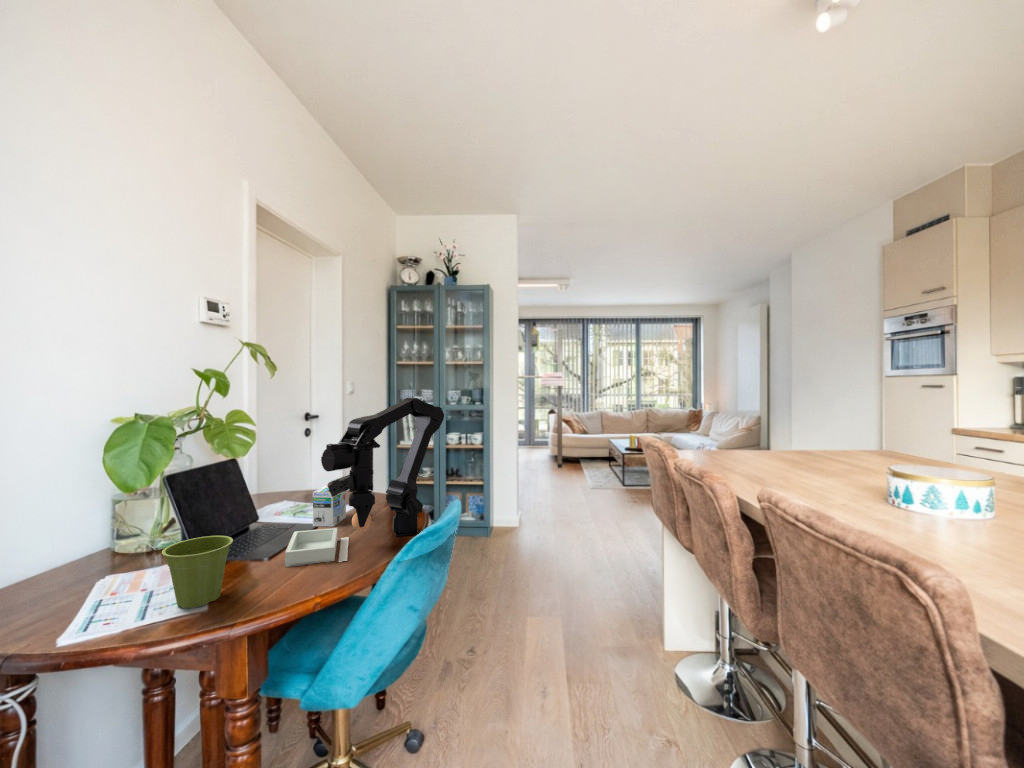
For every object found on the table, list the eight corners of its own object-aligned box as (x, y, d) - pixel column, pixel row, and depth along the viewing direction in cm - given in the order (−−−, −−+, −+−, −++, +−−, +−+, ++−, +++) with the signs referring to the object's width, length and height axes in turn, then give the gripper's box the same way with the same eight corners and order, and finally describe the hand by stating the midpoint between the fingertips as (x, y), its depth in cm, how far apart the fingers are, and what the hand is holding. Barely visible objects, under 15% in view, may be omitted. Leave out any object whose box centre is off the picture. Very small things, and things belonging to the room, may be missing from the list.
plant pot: (225, 582, 100) (225, 531, 100) (239, 601, 91) (239, 545, 91) (157, 600, 92) (157, 544, 92) (166, 622, 83) (166, 561, 83)
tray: (337, 540, 127) (337, 527, 127) (334, 561, 112) (334, 547, 112) (294, 544, 123) (294, 531, 123) (285, 567, 108) (285, 552, 108)
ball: (371, 526, 125) (371, 508, 125) (371, 531, 120) (371, 512, 120) (351, 527, 123) (351, 509, 123) (351, 533, 118) (351, 514, 118)
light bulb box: (333, 527, 139) (333, 492, 139) (311, 527, 139) (311, 491, 139) (346, 516, 149) (346, 484, 149) (326, 516, 149) (326, 484, 149)
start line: (348, 537, 129) (348, 537, 129) (347, 561, 112) (347, 560, 112) (341, 538, 128) (341, 538, 128) (338, 562, 111) (338, 561, 111)
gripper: (331, 461, 128) (331, 516, 128) (327, 474, 110) (327, 538, 110) (373, 459, 131) (372, 513, 131) (375, 471, 114) (374, 533, 114)
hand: (361, 523), depth 121 cm, fingers closed on ball, 5 cm apart
